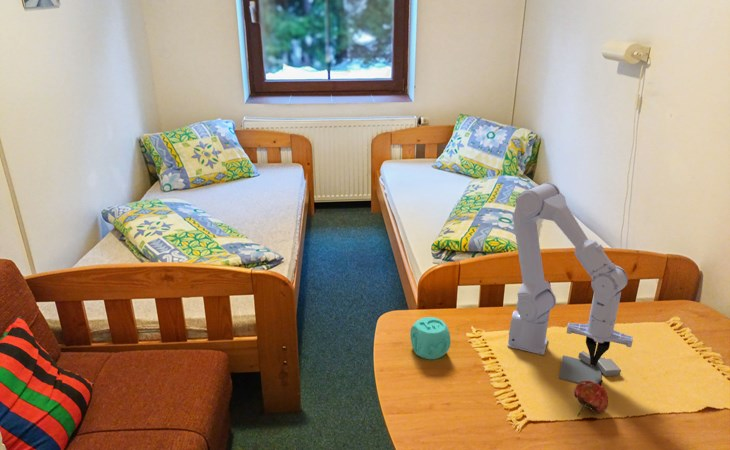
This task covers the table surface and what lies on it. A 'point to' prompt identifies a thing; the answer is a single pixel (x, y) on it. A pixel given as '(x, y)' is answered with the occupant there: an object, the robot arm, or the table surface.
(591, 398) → the pomegranate
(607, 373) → the lighter
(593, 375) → the mat
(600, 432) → the table surface
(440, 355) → the decorative dice
